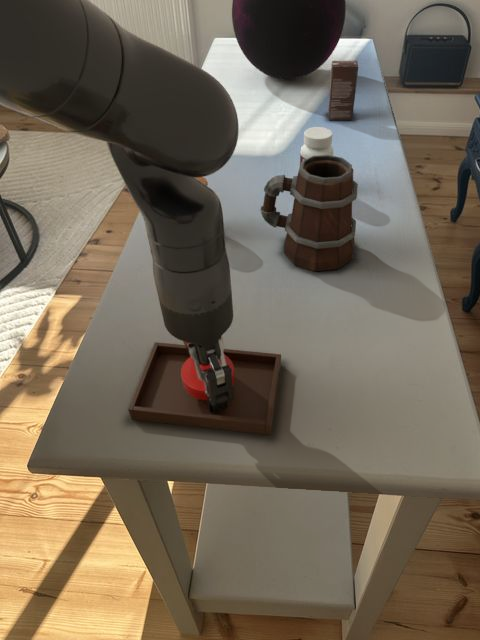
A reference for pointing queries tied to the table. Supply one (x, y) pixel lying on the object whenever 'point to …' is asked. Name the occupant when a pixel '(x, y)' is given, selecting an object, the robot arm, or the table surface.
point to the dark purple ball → (288, 34)
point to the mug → (316, 212)
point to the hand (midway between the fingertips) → (209, 387)
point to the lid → (192, 380)
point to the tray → (181, 408)
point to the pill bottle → (316, 143)
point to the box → (342, 90)
